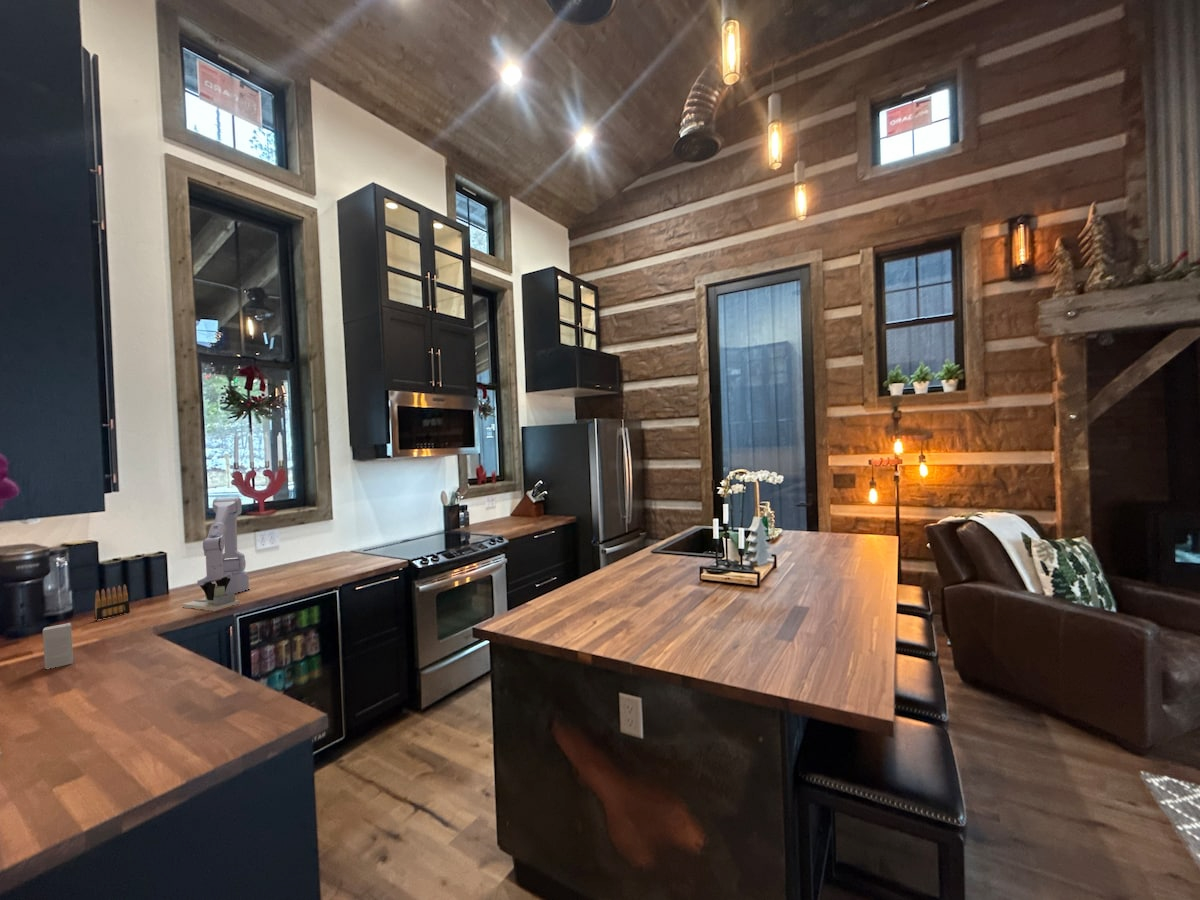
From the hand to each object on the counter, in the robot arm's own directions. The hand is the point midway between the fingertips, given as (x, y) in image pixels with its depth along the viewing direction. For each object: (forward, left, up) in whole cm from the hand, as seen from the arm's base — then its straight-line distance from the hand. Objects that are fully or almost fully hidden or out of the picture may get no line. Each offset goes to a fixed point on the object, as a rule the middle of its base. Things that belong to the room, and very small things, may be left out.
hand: (216, 598), depth 216 cm
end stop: (0, +5, -2) cm, 5 cm away
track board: (0, -3, -3) cm, 5 cm away
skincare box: (+56, +16, -4) cm, 58 cm away
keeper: (0, 0, -1) cm, 1 cm away
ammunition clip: (+21, -29, -4) cm, 36 cm away
